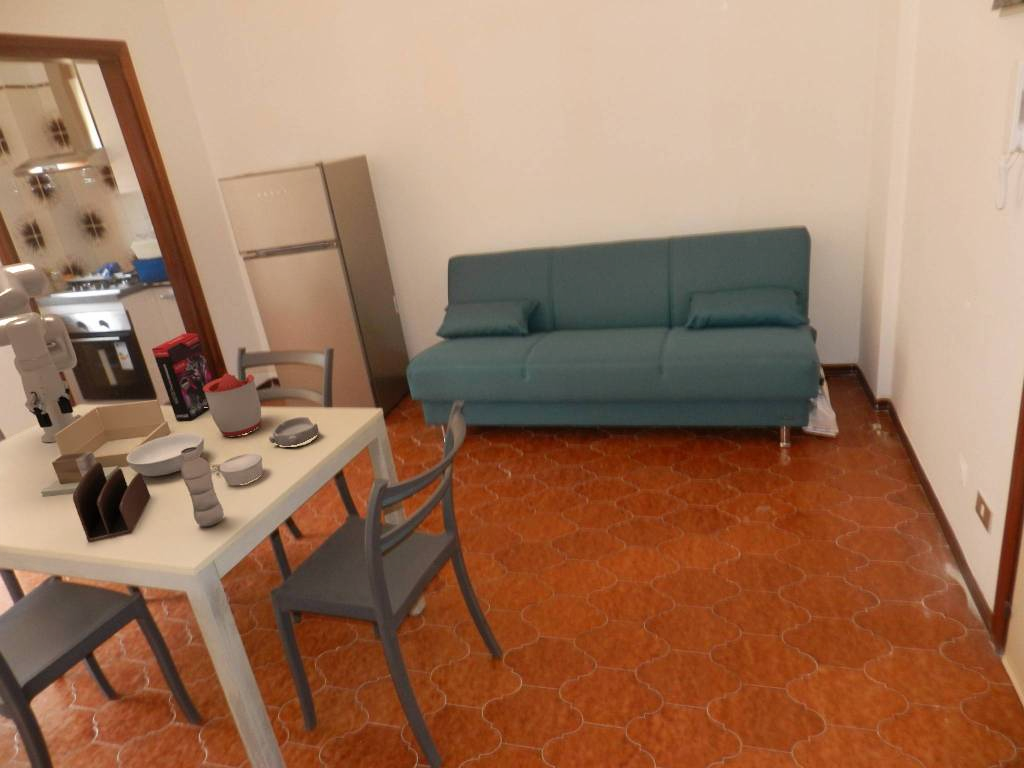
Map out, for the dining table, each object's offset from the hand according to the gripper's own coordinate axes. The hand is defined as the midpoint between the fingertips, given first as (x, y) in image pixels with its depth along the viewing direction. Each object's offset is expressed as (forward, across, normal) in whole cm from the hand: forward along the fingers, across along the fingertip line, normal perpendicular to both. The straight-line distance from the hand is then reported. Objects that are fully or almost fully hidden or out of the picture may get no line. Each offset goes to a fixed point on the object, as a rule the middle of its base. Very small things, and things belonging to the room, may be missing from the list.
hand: (57, 419), depth 195 cm
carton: (+20, -21, 0) cm, 29 cm away
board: (+20, 0, 0) cm, 20 cm away
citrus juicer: (+20, -28, +38) cm, 52 cm away
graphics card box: (+21, -50, +13) cm, 55 cm away
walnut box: (+19, 0, 0) cm, 19 cm away
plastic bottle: (+20, +32, +52) cm, 65 cm away
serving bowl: (+21, -4, +25) cm, 33 cm away
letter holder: (+21, +25, +25) cm, 41 cm away
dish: (+21, -14, +60) cm, 65 cm away
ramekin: (+20, +9, +52) cm, 57 cm away
